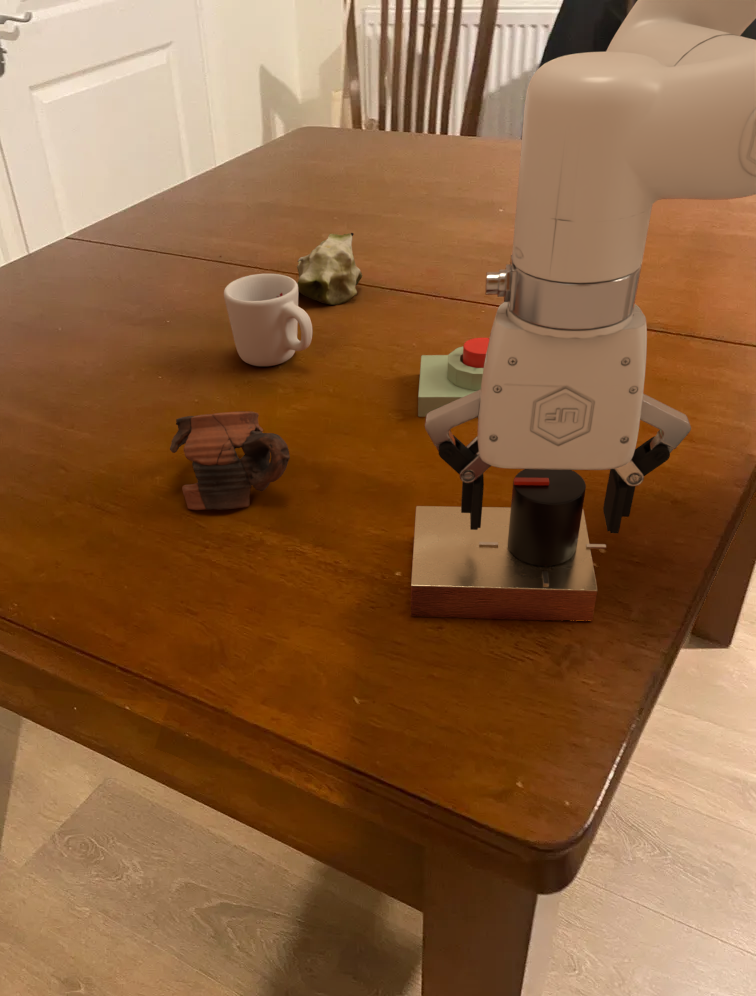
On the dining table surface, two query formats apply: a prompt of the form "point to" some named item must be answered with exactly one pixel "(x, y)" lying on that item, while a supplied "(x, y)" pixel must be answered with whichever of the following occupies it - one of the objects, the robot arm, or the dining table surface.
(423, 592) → the panel
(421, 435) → the dining table surface
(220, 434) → the pottery mug
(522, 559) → the hob knob
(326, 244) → the beige lumpy stone
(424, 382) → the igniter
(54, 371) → the dining table surface
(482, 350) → the button
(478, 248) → the dining table surface
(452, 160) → the dining table surface
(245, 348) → the cup
